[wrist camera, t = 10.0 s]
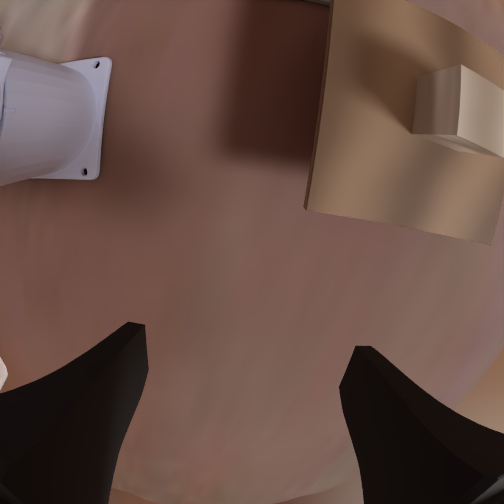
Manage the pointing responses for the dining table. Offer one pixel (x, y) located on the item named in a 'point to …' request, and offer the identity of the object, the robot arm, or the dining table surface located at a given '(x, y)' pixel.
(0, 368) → the foam cup
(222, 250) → the dining table surface
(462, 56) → the square tan board
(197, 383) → the dining table surface
